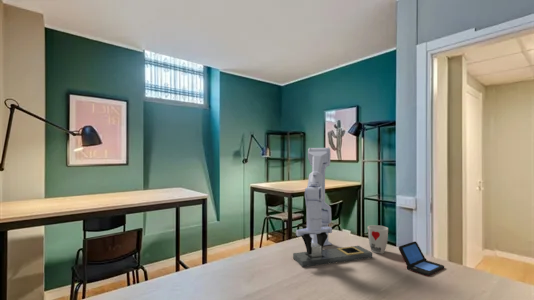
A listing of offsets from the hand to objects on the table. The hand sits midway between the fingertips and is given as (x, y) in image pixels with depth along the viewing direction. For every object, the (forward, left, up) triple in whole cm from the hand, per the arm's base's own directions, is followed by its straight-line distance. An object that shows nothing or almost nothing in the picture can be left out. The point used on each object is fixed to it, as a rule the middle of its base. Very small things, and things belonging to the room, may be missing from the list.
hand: (314, 252), depth 109 cm
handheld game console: (+18, +34, -3) cm, 38 cm away
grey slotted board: (0, +8, -3) cm, 9 cm away
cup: (-1, +30, -3) cm, 30 cm away
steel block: (0, 0, -3) cm, 3 cm away
